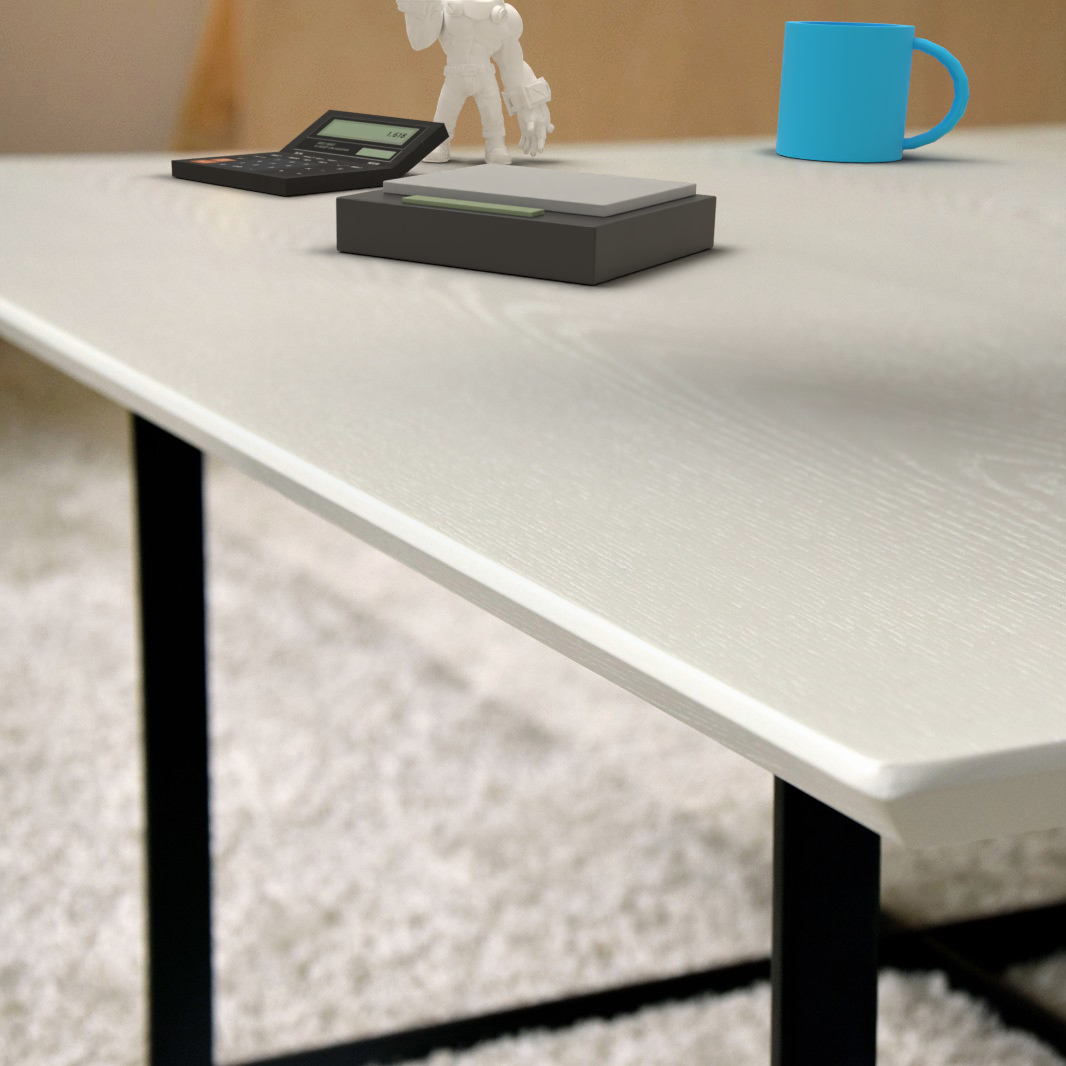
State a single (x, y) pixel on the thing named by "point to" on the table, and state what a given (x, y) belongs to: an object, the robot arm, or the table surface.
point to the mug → (855, 91)
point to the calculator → (325, 156)
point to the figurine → (481, 71)
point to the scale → (529, 221)
